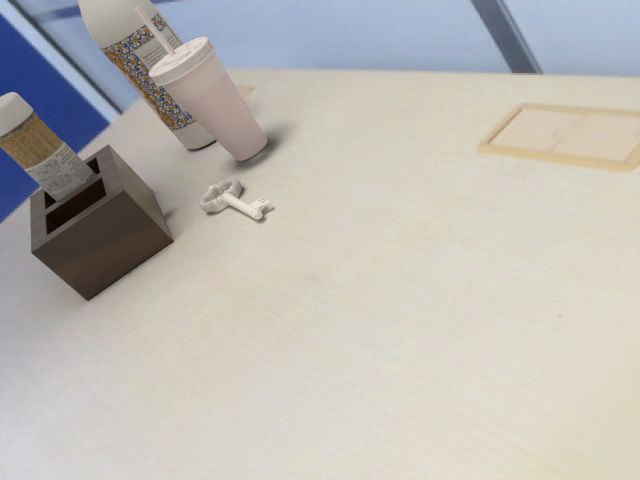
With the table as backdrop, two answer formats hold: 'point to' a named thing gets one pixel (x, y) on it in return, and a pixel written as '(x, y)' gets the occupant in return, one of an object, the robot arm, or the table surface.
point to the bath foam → (141, 58)
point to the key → (230, 199)
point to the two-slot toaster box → (98, 226)
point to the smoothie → (207, 93)
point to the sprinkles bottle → (39, 149)
